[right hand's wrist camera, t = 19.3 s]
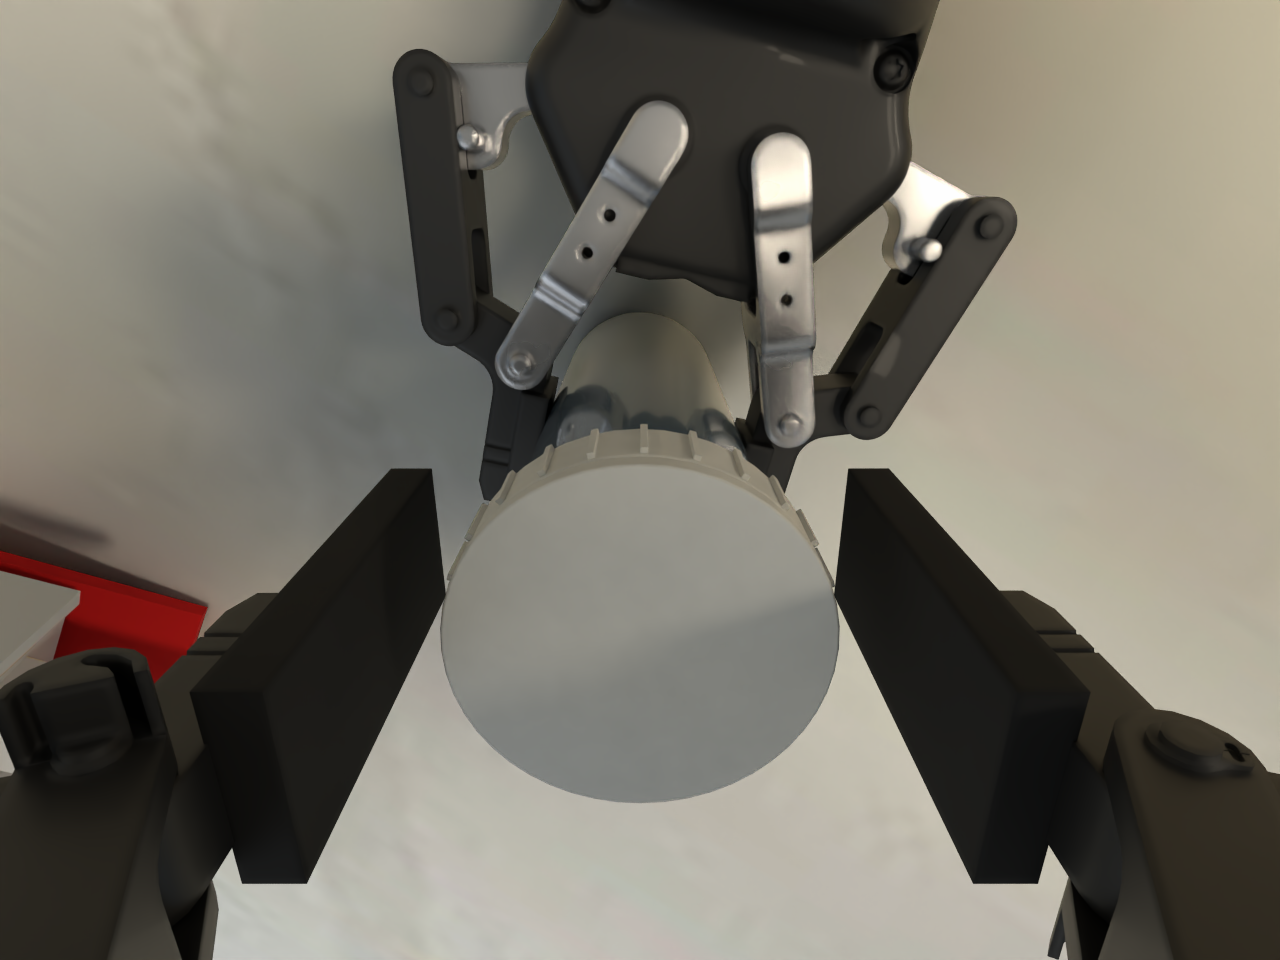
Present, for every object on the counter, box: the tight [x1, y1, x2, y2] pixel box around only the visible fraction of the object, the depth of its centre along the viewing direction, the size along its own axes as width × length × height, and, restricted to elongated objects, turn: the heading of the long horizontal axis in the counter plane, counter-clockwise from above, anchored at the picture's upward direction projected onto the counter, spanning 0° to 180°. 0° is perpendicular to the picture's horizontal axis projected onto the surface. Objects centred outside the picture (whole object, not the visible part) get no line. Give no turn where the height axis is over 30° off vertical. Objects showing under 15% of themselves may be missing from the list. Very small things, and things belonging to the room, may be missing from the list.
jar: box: [529, 312, 751, 463], centre depth 18 cm, size 5×5×15 cm
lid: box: [440, 424, 840, 803], centre depth 11 cm, size 6×6×2 cm
